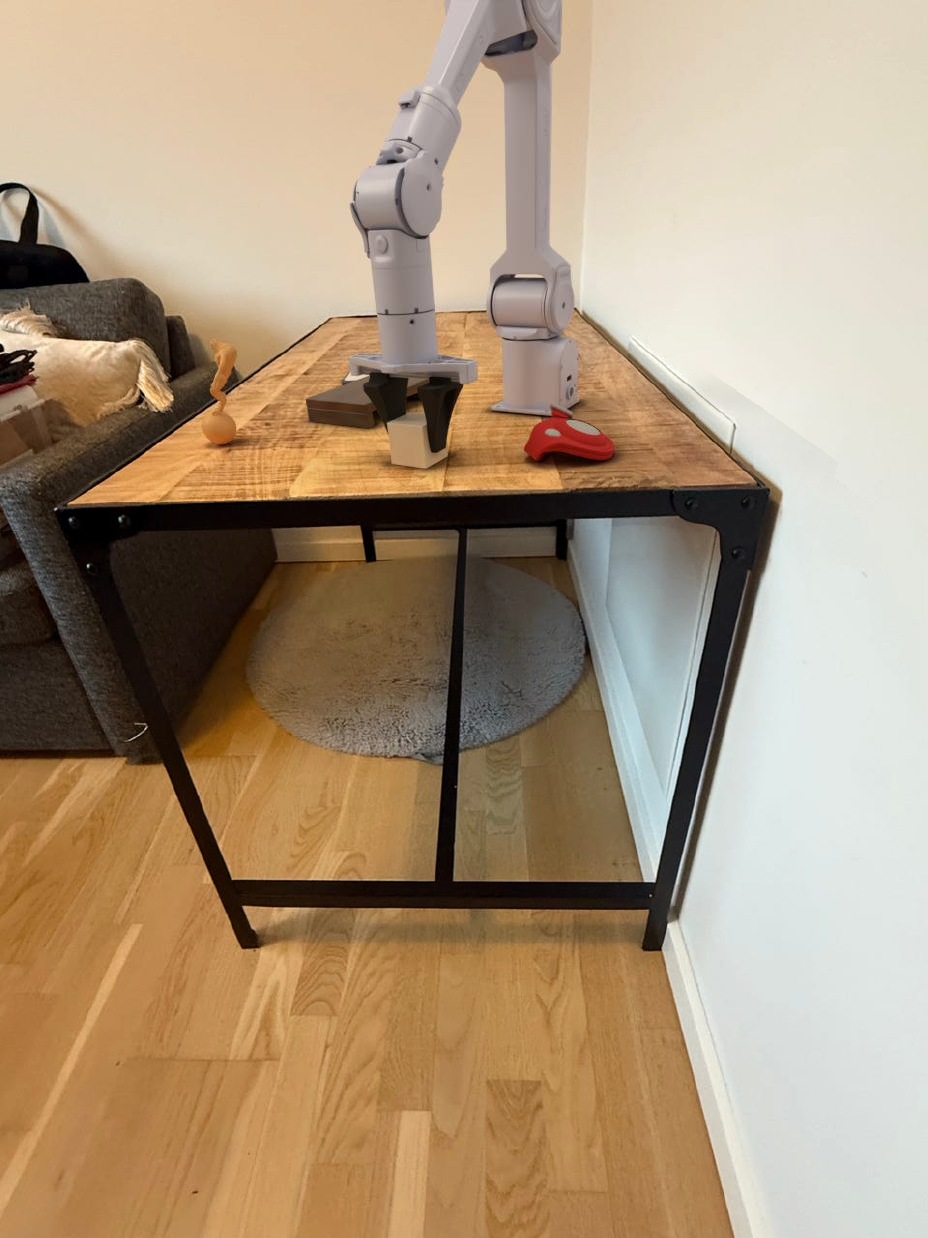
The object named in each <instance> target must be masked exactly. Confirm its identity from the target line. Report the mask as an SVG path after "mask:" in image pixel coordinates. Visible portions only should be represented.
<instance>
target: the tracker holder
mask: <svg viewBox="0 0 928 1238" xmlns="http://www.w3.org/2000/svg"><path fill="white" fill-rule="evenodd" d="M550 409H551V414H552V416H550V418H547V419H543V420H542V421H539V422H538V423H536V424H535V425H534V426H533V427H532V429H531V432H530V434H529V437H528V440H527V441H526V443H525V445H524V447H523V451H524V452H525V453H526V454H528V456H530V457H531V458H532V459H533V460H535V462H536V461H537V462H538V461H540V460H542V459H543V458H544V457H545V456H546V455H547V454H548V453H549V452H550V453H551V452H562V453H566V454H570V455H572V456H577V457H579V458H586V459H590V460H594V461H595V460H596V461H607V460H609V459H611V458H612V457H613V454H614V451H615V449H616V446H615V443H614V442H613V440H612V439H611V438H610V437H608V436H607V435H606V434H605V433H603V432H602V431H601V430H600V429H599V428H598V427H597V426H594V425H593V424H591V423H589V422H586V421H584V420H581V419H577V418H576V419H575V418H574V412H572V411H573V410H570V409H565V408H563V407H561V406H559V405H556V404H554V403H552V402H551V403H550Z"/></svg>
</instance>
